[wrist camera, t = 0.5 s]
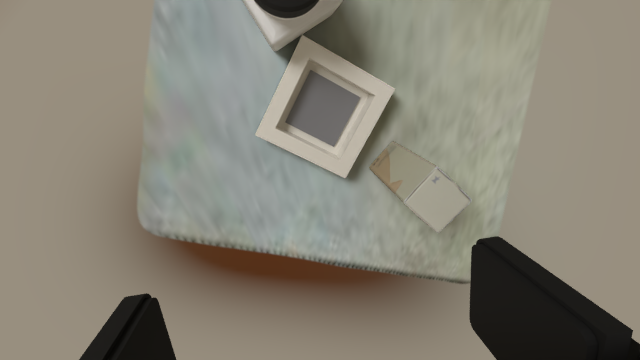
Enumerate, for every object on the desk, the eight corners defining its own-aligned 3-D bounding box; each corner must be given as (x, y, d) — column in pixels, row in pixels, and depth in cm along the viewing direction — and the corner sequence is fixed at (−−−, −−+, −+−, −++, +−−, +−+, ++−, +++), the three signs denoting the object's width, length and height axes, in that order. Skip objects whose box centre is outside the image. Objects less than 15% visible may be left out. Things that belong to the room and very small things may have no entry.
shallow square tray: (300, 38, 33) (302, 34, 30) (386, 87, 36) (395, 88, 33) (257, 130, 36) (255, 134, 33) (340, 170, 38) (345, 178, 35)
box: (367, 167, 38) (400, 200, 28) (393, 139, 38) (436, 163, 27) (397, 194, 40) (439, 235, 29) (422, 167, 39) (474, 201, 29)
